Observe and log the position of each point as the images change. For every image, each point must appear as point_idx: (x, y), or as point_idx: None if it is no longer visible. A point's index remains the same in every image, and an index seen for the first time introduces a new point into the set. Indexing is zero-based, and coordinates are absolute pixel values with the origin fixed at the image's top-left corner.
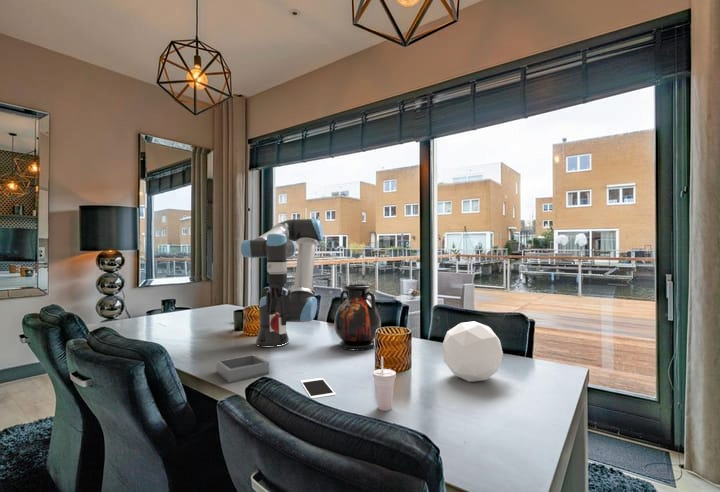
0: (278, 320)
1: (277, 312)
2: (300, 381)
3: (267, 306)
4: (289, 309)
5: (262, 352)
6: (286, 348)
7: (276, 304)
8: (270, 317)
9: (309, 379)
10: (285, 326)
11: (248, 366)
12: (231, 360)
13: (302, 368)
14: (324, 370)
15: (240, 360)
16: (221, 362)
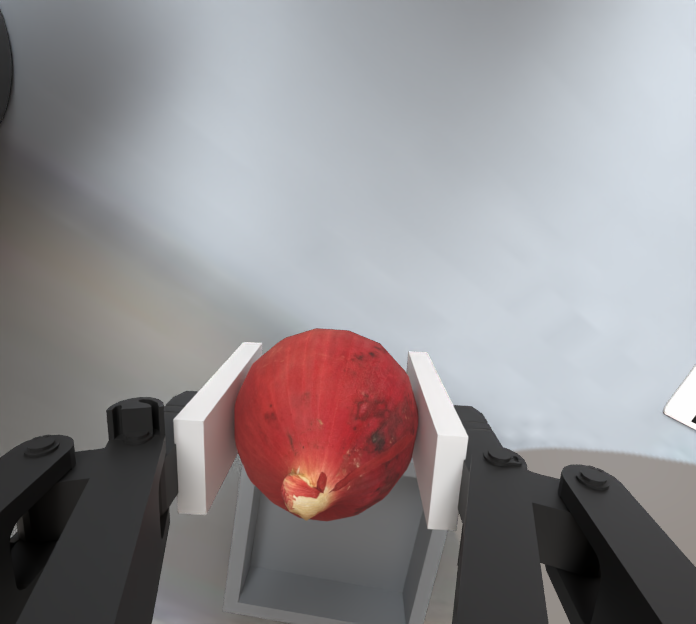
0: (395, 482)
1: (303, 504)
2: (671, 417)
3: (13, 615)
4: (669, 543)
5: (66, 235)
6: (83, 59)
7: (135, 555)
8: (211, 491)
9: (692, 374)
10: (437, 382)
11: (433, 566)
12: (246, 547)
13: (526, 280)
14: (659, 223)
15: (255, 500)
16: (262, 607)
